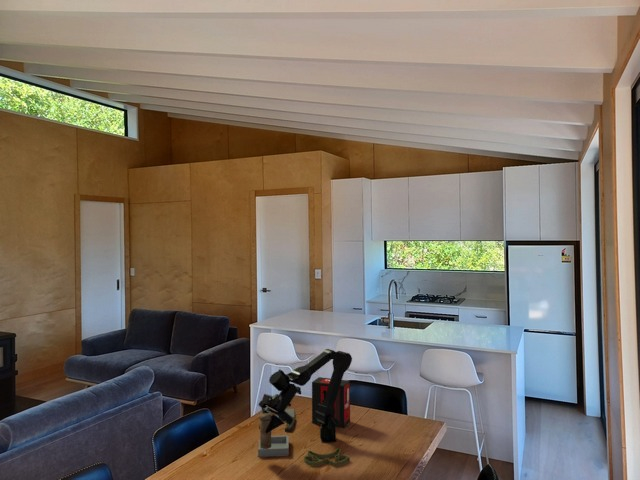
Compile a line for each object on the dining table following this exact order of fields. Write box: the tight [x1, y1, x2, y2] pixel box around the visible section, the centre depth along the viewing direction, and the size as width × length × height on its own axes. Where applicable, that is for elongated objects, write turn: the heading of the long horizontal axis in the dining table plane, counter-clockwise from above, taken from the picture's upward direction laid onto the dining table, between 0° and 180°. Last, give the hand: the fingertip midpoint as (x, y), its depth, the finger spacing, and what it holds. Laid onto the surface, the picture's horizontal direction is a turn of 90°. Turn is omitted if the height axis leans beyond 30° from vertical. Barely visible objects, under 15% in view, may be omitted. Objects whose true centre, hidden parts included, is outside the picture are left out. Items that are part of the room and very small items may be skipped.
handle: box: [259, 412, 272, 449], centre depth 179 cm, size 5×5×12 cm
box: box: [257, 435, 290, 458], centre depth 189 cm, size 12×12×3 cm
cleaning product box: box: [311, 376, 351, 429], centre depth 218 cm, size 16×9×20 cm, turn 67°
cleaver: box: [284, 408, 296, 433], centre depth 221 cm, size 29×10×2 cm, turn 5°
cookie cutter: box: [303, 447, 351, 468], centre depth 180 cm, size 18×12×2 cm, turn 100°
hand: (262, 430), depth 178 cm, fingers closed on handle, 4 cm apart
